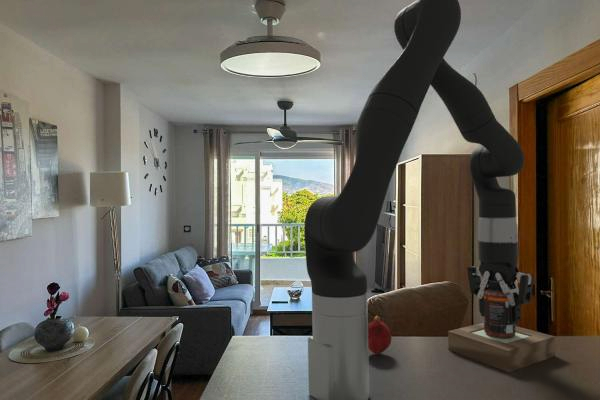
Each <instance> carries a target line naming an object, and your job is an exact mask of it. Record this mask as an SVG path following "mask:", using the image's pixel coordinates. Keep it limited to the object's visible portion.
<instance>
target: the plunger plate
mask: <svg viewBox="0 0 600 400" xmlns="http://www.w3.org/2000/svg"><path fill="white" fill-rule="evenodd" d="M473 333H474V334H477V335H480V336H484V337H487V338H490V339H493V340H497V341H500V342H503V343H509V342H512V341H516V340H519V339H523V338H526V337H529V336H527V335H523V334H520V333H516V332H515V336H513V337H511V338H499V337H493V336H490V335H488V334H486V333H485V331H484V330H480V331H477V332H473Z"/></svg>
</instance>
